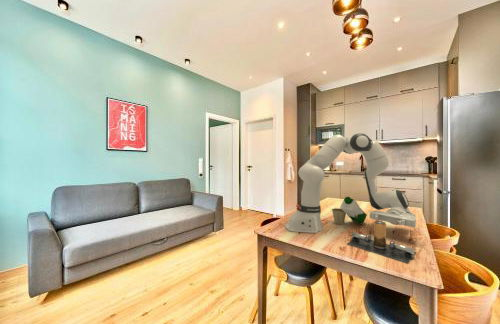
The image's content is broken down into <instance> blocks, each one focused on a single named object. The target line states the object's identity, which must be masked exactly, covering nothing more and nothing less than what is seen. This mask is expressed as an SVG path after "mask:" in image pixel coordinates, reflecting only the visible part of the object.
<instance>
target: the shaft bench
mask: <svg viewBox="0 0 500 324" xmlns="http://www.w3.org/2000/svg"><path fill="white" fill-rule="evenodd" d="M350 236H351V240H350V241H349V242H347V243H346V245H348V246H350V247H355V248H358V249H361V250H364V251H367V252H370V253H374V254H377V255H380V256H383V257H384V258H385V257H386V258H390V259H392V260H395V261H399V262H401V263H404V262H405V264H407V263H408V264H409V263H410V262H411V260H412V261H413V258H414V257H415V255H416V254H417V251H415V248H414V247H410V246H407V245H403V244H399V243H396V242H395V241H393V240H390V242H389V244H388V243H386V246H387V249H386V250H380V249H376V248H374V247H373V243H374V239H372V235H369V234H361V233H358V232H354V231H352V232H351V234H350Z"/></svg>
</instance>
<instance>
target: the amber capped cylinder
mask: <svg viewBox="0 0 500 324" xmlns="http://www.w3.org/2000/svg"><path fill="white" fill-rule="evenodd" d="M373 240H374V243H373V247H374V248H376V249H380V250H386V249H387V246H386V244H387V222H386V221H381V220H379V221H378V220H374V221H373Z"/></svg>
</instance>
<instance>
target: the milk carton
mask: <svg viewBox="0 0 500 324" xmlns="http://www.w3.org/2000/svg"><path fill="white" fill-rule="evenodd" d="M339 209H342V210H343V211H344V212H345V213H346V215H347V217H349V219H350V220H351V222H353V223H356V224H360V225H364V223H365V221H366V218H367V216H368V214H367V213H366V212H365V211H364V210H363V209H362V208H361V207H360V205H359V204H358V202H357V200H356V199H353V198H351V197H350V196H346V197H344V198H343V200H342V202H341V205H340V206H339Z"/></svg>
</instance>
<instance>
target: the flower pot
mask: <svg viewBox="0 0 500 324" xmlns="http://www.w3.org/2000/svg"><path fill="white" fill-rule="evenodd" d="M331 212H332V216H333V217H332V218H333V222H334V224H336V225H344V224H345V220H346V215H347V214H346V213H345V212H344V211H343V210H342V209H341V208H332V209H331Z"/></svg>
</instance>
